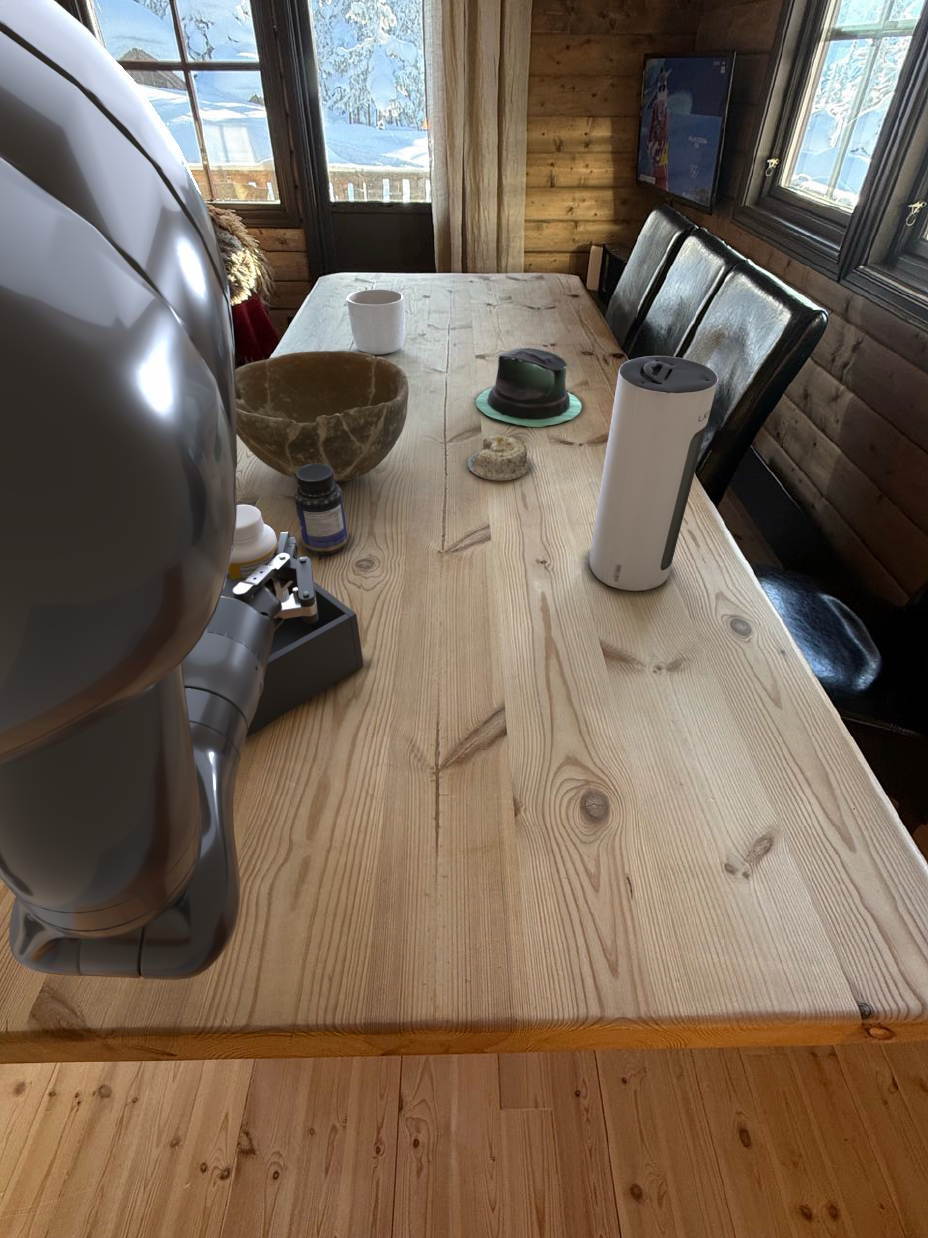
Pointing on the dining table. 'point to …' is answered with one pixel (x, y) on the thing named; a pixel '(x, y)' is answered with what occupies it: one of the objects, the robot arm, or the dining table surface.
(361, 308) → the planter
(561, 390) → the fedora hat
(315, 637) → the open storage box
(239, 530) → the supplement bottle
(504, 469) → the cake
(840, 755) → the dining table surface
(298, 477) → the pill bottle
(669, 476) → the speaker
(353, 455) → the bowl
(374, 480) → the dining table surface
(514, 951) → the dining table surface
